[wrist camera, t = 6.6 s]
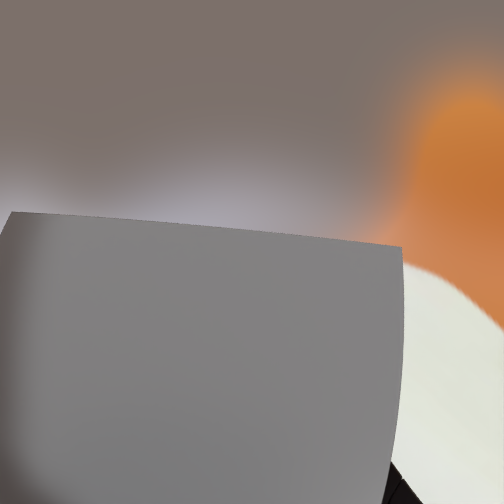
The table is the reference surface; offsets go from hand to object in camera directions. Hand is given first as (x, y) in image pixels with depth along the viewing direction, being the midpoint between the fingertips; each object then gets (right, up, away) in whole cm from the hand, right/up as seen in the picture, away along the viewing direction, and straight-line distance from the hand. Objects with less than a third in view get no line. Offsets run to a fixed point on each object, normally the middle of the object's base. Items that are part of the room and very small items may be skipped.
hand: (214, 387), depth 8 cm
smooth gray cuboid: (0, -5, +6) cm, 7 cm away
